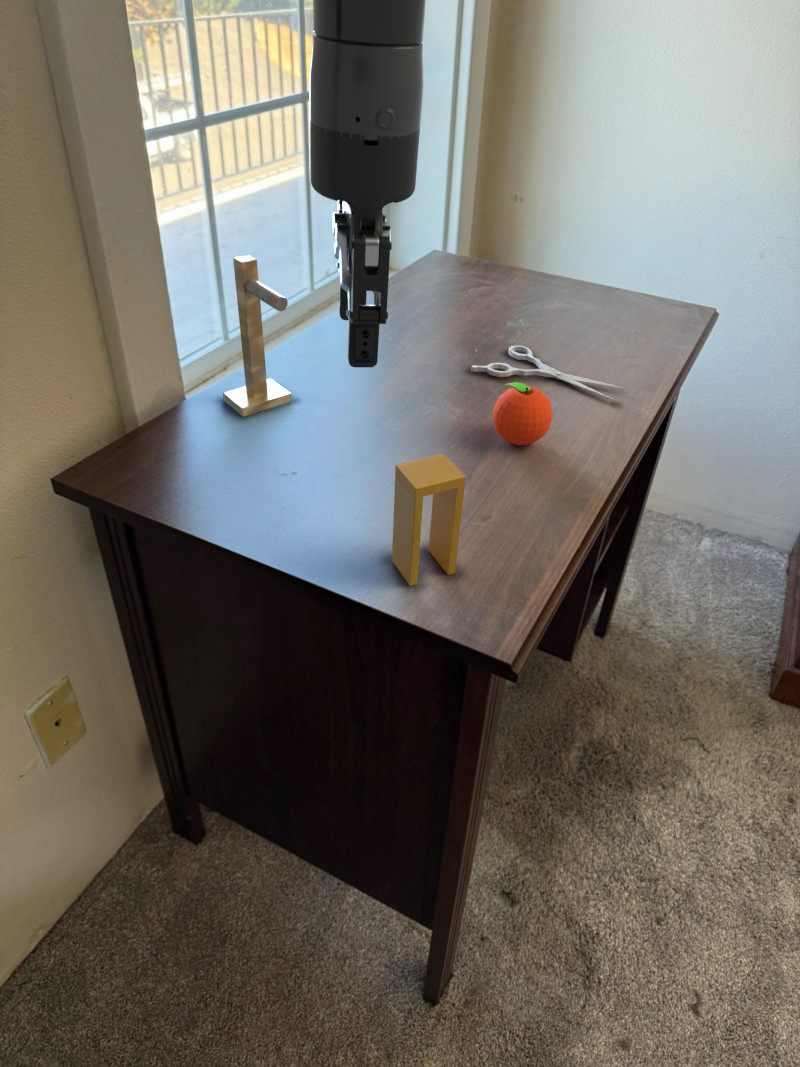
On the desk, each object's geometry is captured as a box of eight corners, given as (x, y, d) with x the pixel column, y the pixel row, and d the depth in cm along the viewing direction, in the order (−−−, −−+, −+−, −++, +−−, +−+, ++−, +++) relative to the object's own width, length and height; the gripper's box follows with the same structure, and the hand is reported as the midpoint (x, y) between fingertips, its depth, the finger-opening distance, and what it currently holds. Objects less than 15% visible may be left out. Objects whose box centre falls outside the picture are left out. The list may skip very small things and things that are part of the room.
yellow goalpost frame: (409, 586, 69) (415, 489, 62) (391, 560, 72) (395, 464, 65) (455, 573, 70) (466, 476, 64) (435, 548, 73) (444, 453, 66)
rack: (264, 434, 89) (251, 285, 77) (223, 401, 95) (206, 257, 83) (313, 417, 92) (307, 272, 81) (271, 386, 98) (260, 247, 87)
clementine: (472, 431, 91) (478, 378, 87) (516, 417, 94) (524, 365, 90) (515, 462, 86) (523, 407, 82) (559, 446, 89) (570, 393, 85)
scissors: (505, 340, 110) (635, 377, 102) (504, 345, 111) (634, 382, 103) (471, 366, 103) (608, 407, 95) (470, 371, 104) (607, 413, 96)
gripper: (304, 94, 55) (306, 305, 66) (315, 140, 44) (315, 383, 55) (404, 100, 56) (391, 306, 67) (438, 145, 46) (416, 383, 56)
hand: (357, 340), depth 61 cm, fingers open, 8 cm apart
